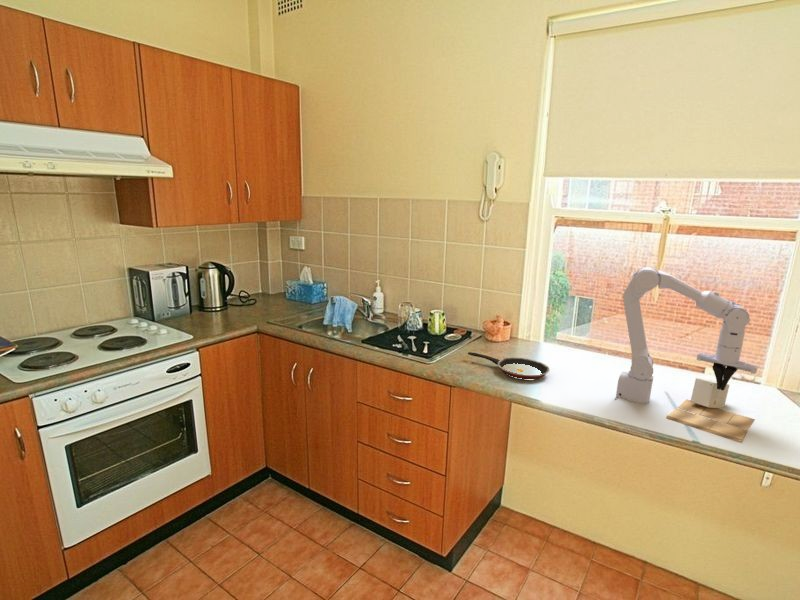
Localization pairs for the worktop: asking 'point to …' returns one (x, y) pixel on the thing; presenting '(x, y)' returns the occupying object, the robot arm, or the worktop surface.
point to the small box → (709, 393)
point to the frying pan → (501, 363)
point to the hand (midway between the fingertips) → (720, 388)
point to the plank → (707, 425)
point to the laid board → (717, 414)
